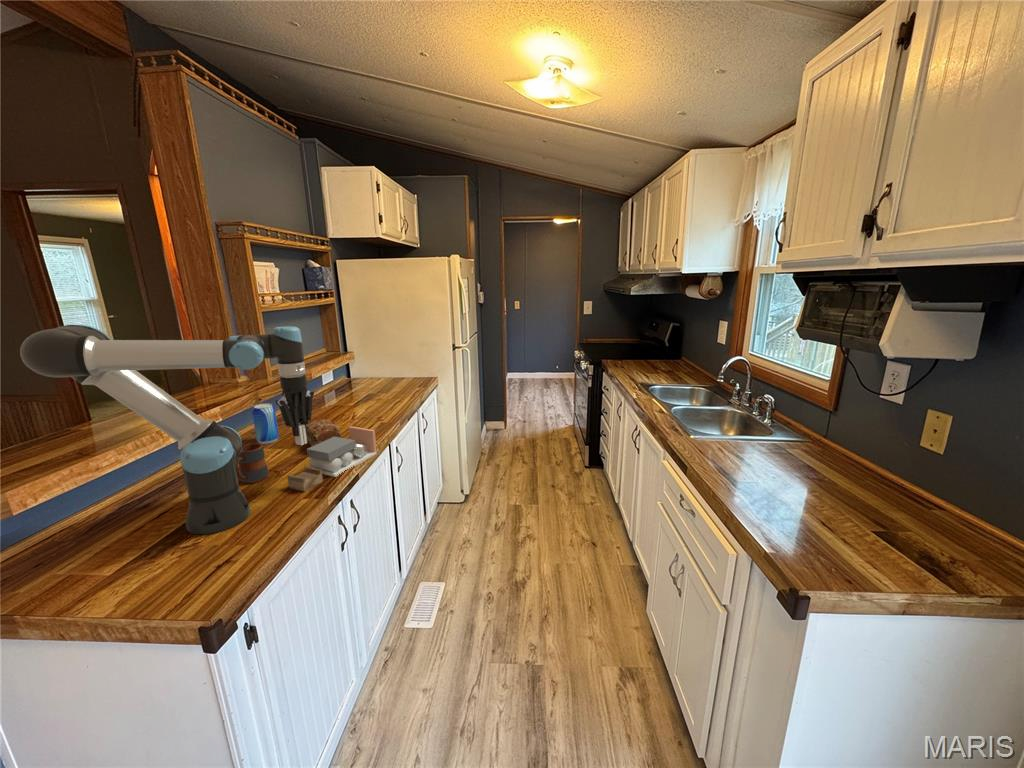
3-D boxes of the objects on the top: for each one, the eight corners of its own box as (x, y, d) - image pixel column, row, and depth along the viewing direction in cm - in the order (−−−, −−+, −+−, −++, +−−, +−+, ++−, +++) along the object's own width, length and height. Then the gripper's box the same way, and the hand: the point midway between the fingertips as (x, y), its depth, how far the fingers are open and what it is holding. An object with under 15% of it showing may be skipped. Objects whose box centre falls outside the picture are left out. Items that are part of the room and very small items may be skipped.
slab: (307, 456, 145) (306, 448, 144) (335, 443, 157) (334, 436, 156) (329, 461, 142) (328, 453, 141) (355, 447, 153) (355, 440, 153)
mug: (225, 488, 135) (220, 455, 133) (252, 472, 147) (247, 441, 144) (249, 489, 134) (244, 457, 132) (274, 473, 146) (269, 443, 143)
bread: (343, 448, 169) (340, 426, 166) (315, 455, 162) (312, 431, 160) (330, 435, 183) (328, 414, 180) (304, 440, 176) (302, 419, 174)
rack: (304, 491, 133) (303, 479, 132) (289, 487, 136) (287, 475, 135) (322, 481, 140) (321, 469, 139) (307, 477, 143) (306, 466, 142)
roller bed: (308, 471, 147) (305, 446, 145) (353, 449, 168) (350, 426, 165) (334, 477, 143) (331, 451, 141) (376, 453, 164) (374, 430, 161)
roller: (338, 455, 159) (337, 443, 158) (348, 450, 163) (346, 439, 162) (359, 459, 155) (357, 447, 154) (368, 454, 160) (366, 442, 159)
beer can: (252, 442, 174) (247, 406, 170) (271, 436, 181) (266, 401, 177) (264, 446, 170) (259, 409, 166) (283, 439, 177) (278, 404, 173)
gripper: (282, 380, 123) (292, 453, 128) (318, 371, 135) (325, 438, 141) (265, 378, 125) (275, 449, 131) (301, 370, 138) (309, 435, 143)
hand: (301, 443), depth 136 cm, fingers closed
